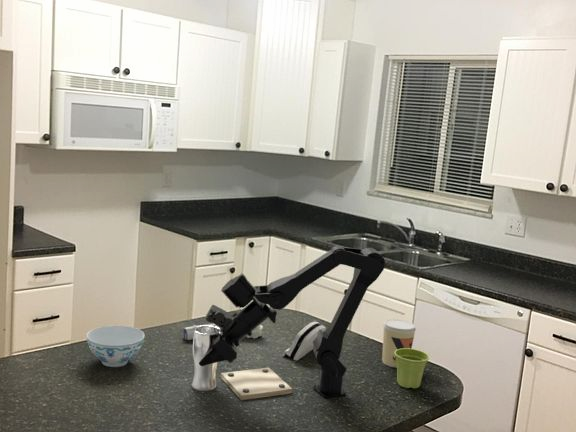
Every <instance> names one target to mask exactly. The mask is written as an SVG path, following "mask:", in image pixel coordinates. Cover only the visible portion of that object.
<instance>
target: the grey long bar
mask: <svg viewBox="0 0 576 432" xmlns="http://www.w3.org/2000/svg"><path fill="white" fill-rule="evenodd" d="M214 325H215V324H213V323H208V324H199V325H195V324H193V325H192V326H188V327H187V326H186V327H183V329H182V337H183V340H184V341H185V342H187V341H193V339H194V332H195V328H196V327H199V326H214ZM215 326H216V327H218V326H217V325H215ZM263 329H264V326H263V325H262V324H260V325H259V326H258V327H256V328H255V329H254V330H253V331H252V335H250V336H248V335H247V336H246V337H245V338H247V339H250V338H252V339H257V338H258V337H262V336H263V332H262V331H263Z"/></svg>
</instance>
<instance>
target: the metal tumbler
mask: <svg viewBox="0 0 576 432" xmlns="http://www.w3.org/2000/svg"><path fill="white" fill-rule="evenodd" d="M198 326H199V325H198ZM219 335H221V330H220V328H218V327H215V326H199V327H196V328H195V332H194V339H193V340H192V342H193V343H192V360H193V366H194V375H193V379H192V383H191V384H192V388H193V389H194V390H196V391H200V392H210V391H213V390H215V389H216V388H217V380H216V378H217V377H216V372H217V367H218V363H219V362H216V363H212V364H208V365H205V366H200V365H199V362H200V361H201V359H202V358H203V357H204V356H205V355H206V354H207V353H208V351H209V350H210V349H211V348H212V342H213V339H214V340H215V339H216V338H217V337H218V336H219Z"/></svg>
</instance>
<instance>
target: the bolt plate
mask: <svg viewBox="0 0 576 432" xmlns="http://www.w3.org/2000/svg"><path fill="white" fill-rule="evenodd" d="M220 378H221V380H222V381H223V382H224V383H225V384H226V385H227V386H228V388H230V389H231V390H232V392H233V393H234V394H235V395H236V396H237V397H238V398H239V399H240V400H241V401H247V400H253V399H260V398H266V397H268V398H269V397H275V396H282V395H289V394H293V388H292V386H290V385H289V384H288V383H287V382H285V381H284V380H283V378H281V377H280V376H279V375H278V374H277V373H275V371H274V370H272V369H271V368H270V367H262V368H253V369H244V370H236V371H228V372H221V373H220Z"/></svg>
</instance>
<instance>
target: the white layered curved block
mask: <svg viewBox="0 0 576 432" xmlns="http://www.w3.org/2000/svg"><path fill="white" fill-rule="evenodd" d="M319 329H320V330H322V331H323V332H324V331H325V330H326V329H327V328H326V326H324V325H323V324H321V323H320V322H318V321H311V322H309V323H308V324H307V325H305V326H304V327H303V328H302V329H301V330H300V331H299V332H298V333H297V334H296V335H295V337H294V340H293V342H291V345H290V347H289V348H287V349H286V350H284V351H283V353H282V356H281V357H282V358H283V357H285V356H286V355H287V356H288V357H289V358H290V357H292V358H293V360H294V361H298V360H300V359H301V358H303V357H304V356H306V355H307V354H308V353H310V352H311V351H313V346H314V345H313V341H314V340H315V339H316V337H317V334H318V331H319Z"/></svg>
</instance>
